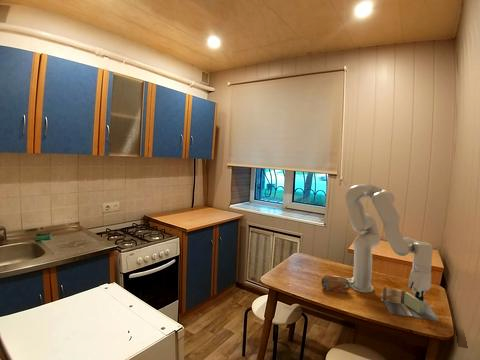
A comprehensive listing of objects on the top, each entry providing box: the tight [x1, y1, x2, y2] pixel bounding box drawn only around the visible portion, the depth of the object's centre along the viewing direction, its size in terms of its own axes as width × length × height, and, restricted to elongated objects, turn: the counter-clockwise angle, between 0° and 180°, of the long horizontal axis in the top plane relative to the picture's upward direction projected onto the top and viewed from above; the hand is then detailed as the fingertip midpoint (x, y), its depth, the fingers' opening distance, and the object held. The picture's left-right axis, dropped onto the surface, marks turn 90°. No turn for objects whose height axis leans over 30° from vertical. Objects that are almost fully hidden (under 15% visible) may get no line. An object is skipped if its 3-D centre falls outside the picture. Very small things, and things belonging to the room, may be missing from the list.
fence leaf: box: [404, 291, 424, 315], centre depth 132 cm, size 10×1×6 cm, turn 14°
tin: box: [320, 274, 351, 294], centre depth 151 cm, size 15×3×8 cm, turn 69°
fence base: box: [380, 287, 440, 322], centre depth 136 cm, size 22×19×7 cm
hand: (418, 302), depth 133 cm, fingers closed
